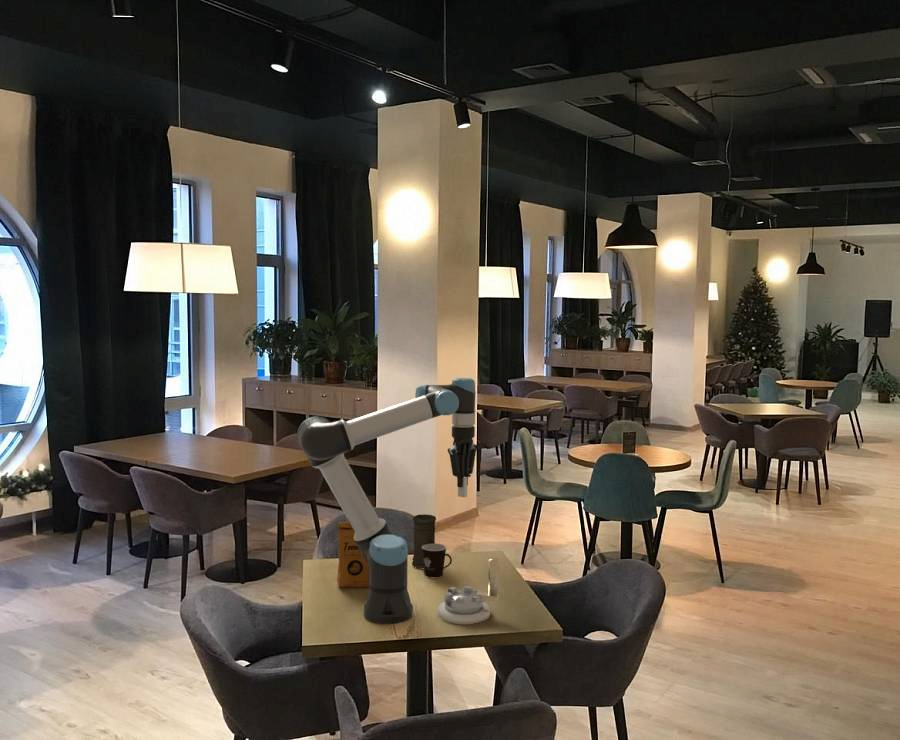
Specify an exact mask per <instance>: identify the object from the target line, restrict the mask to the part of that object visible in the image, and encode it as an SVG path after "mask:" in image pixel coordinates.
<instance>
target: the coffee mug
mask: <svg viewBox="0 0 900 740" xmlns="http://www.w3.org/2000/svg"><path fill="white" fill-rule="evenodd" d="M446 552H447V545H444V544H441V543H435V544H426V545H423V546H422V554H423V564H424V569H423V571H424V576H425V575H426V576H428V577H427V578H429V577H439V578H441V577H440V576H442V575H443V574H444V569H446V568H448V567H449V566H451V564H452V562H453V559H452V557H451V555H450V554H448V553H446ZM446 557H448V558H449V563H448V564H447V565H445V561H446V560H445V559H446ZM426 576H425V577H426ZM442 577H443V576H442Z"/></svg>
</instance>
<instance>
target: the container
mask: <svg viewBox="0 0 900 740" xmlns="http://www.w3.org/2000/svg"><path fill="white" fill-rule="evenodd" d="M412 521H413V551H412V552H413V554H412V555H413V557H412V562H411V566H412V567H413V566H414V567H413V568H415V567H416V568H415V569H418V568H424V564H423V554H422V546H423V545H426V544H436V527H435V526H436V525H435V524H436V521H437V518H436V515H432V514H416V515H414V516H413V517H412Z"/></svg>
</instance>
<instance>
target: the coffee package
mask: <svg viewBox="0 0 900 740" xmlns="http://www.w3.org/2000/svg"><path fill="white" fill-rule="evenodd" d="M337 523H338V524H337V529H338V541H339V543H338V545H339V546H338V551H337V554H338V566H337V575H336V576H337V578H336V583H337V586H338V587H339V588H340V587H343V588H369V585H370V584H369V575H370V570H369V566H368V564H367V562H366V560H365V559H364V557H363V556H362V554H361V551H360V549H359V548H358V546H357V544H356V542H355V540H354V538H353V537H354V534H355V531H354V529H353V527H352V525H351V524H350V522H349V521H338V522H337Z"/></svg>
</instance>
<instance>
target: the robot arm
mask: <svg viewBox="0 0 900 740" xmlns="http://www.w3.org/2000/svg"><path fill="white" fill-rule="evenodd" d="M414 395H415V398H412V399H409V400H407V401H404V402H403V401H402V402H401V403H398V404H394V405H391V406H387V407H386V408H383V409H380V410H377V411H374V412H371V413H368V414H365V415H363V416H360V417H356V418H353V419H350V420H347V421H346V420H343V419H340V420H336V421H332V422H331V421H330V420H329V419H327V418H326V417H322V416H311V417H309V418H306V419H305V420H303V421H302V423H300V425H299V427H298V430H297V433H296V440H297V443H298V445H299V446H300V447H301V451H302V452H303V453H304V455H305V457H306V458H307V459H308V461H309V463H310V465H311V466H312V468H315V469H319V471H320V472H321V474H322V476H323V478H324V480H325V481H326V483H327V484H328V486H329V488H330V490H331V492H332V494H333V496H334V497H335V499H336V501H337V502H338V504H339V506H340V508H341V509H342V511H343V513H344V515H345V517H346V519H347V520H348V522H350V524H351V525H352V527H353V529H354V531H355V534H354V537H353V538H354V540H355V542H356V544H357V546H358V548H359V549H360V551H361V554H362V556H363V557H364V559H365V560H366V562H367V564H368V566H369V570H370V575H369V584H370V585H369V587H368V588H369V590H368V593H367V596H366V601H365V604H364V606H363V617H364V619H366V620H368V621H370V622H372V623H373V622H374V623H378V624H397V623H401V622H405V621H407V620H409V619H411V618H412V617H413V616H414V615H413V614H414V606H413V604H412V601H411V597H410V594H409V591H408V565H409V564H408V563H409V562H408V557H409V556H408V555H409V549H408V548H409V547H408V543H407V541H406V539H404V538H403V537H402V536H398V535H394V534H393V531H392V530H391V528H390V526H389V525H388V523H387V521H386V520H385V519H384V518H380V517H379V516H378V514H377V513H376V511H375V509H374V507H373V506H372V503H371V501H370V500H369V498H368V497H367V494H366V493H365V491H364V490H363V488H362V486H361V484H360V482H359V480H358V479H357V477H356V475H355V474H354V471H353V469H352V467H351V466H350V465H349V463H348V460H347V458H346V457H345V453H348V452H350V451H353V449H354V448H355V446H357V445H361V444H363V443H365V442H369V441H371V440H374V439H377V438H380V437H382V436H383V437H384V436H386V435H389V434H391V433H394V432H397V431H399V430H402V429H405V428H408V427H411V426H414V425H417V424H419V423H422V422H425V421H429V420H431V419H434V418H437V417H439V416H451V424H452V426H451V437H452V438H453V442H452V446H451V447H449V448H447V453H448V454H449V460H450V466H451V471H452V472H451V473H452V476H453V477H456V479H457V482H456V486H457V497H459V498H467V497H468V485H469V478H470V477H471V476H472V474H473V472H474V467H475V466H474V465H475V461H476V453H477V451H478V447H479V445H478V444H476V443H474V439H473V438H475V436H476V433H475V432H476V430H475V429H476V427H475V426H474V425H475V424H476V411H475V410H476V382H475V380H474V379H473V378H470V377H455V378H453V379H452V381H451V384H423V385H417V387H416V389H415V394H414Z"/></svg>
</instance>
